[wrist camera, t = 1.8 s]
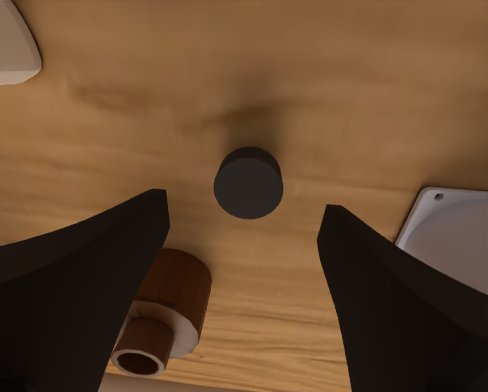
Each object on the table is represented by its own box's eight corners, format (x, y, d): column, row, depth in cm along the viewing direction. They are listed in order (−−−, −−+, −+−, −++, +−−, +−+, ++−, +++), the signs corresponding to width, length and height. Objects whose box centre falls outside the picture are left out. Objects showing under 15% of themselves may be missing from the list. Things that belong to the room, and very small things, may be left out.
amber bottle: (211, 252, 19) (188, 339, 13) (211, 305, 23) (193, 394, 17) (129, 244, 20) (69, 327, 13) (141, 298, 23) (98, 384, 17)
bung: (283, 143, 15) (288, 161, 12) (275, 197, 16) (278, 222, 14) (222, 138, 15) (213, 154, 12) (221, 192, 17) (213, 216, 14)
